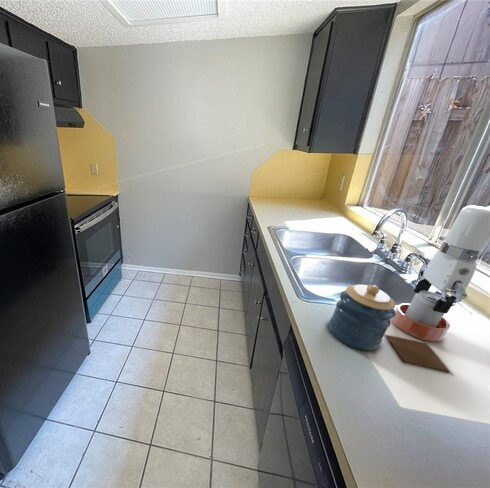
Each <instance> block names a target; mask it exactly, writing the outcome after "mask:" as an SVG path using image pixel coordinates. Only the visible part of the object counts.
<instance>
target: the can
mask: <svg viewBox="0 0 490 488" xmlns="http://www.w3.org/2000/svg"><path fill="white" fill-rule="evenodd" d="M438 299H441V294H439V293H436V292H433V291H429V290H428V291H420V293H415V294H414V295H413V298H412V299H411V301H410V303H409V304H410V305H409V307H408V309H407V311H406V313H405V314H404V315H406V316H407V317H408V318H410V319H412V320H414V321H416V322H418V323H420V324H423V325H426V326H429V327H433V328H436V326H437V325H438V323H439V322H440V320H441V318H442V317H443V318H444V315H445V314H446V313H441V312H435V311H433V307H434V306H435V304H436V302H437V301H438Z"/></svg>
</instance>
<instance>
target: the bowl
mask: <svg viewBox="0 0 490 488" xmlns="http://www.w3.org/2000/svg"><path fill="white" fill-rule="evenodd" d="M409 305H410V303H400V304H398V305H397V307H396V309H395V312H396V315H395V316H394V317H393V318H391V320H392V321H391V322H393V324H394V325H395V326H396V327H397V328H399V330H401V331H403V332H404V333H406V334H408V335H410V336H412V337H415V338H417V339H419V340H423V341H428V342H440V341H442V340H443V338H444V337H445V335H446V334H447V332H448V331H449V329H450V327H451V325H450V323H449V321H448V320H447V319H446V318H445V317H444V316H443V317H442V318H441V320H440V322H439V323H438V325H437V326H436V328H433V327H429V326H426V325H423V324H420V323H418V322H416V321H414V320H412V319H410V318H408V317H407V316H406V315H404V314H405V313H406V311H407V309H408V307H409Z"/></svg>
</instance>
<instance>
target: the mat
mask: <svg viewBox="0 0 490 488" xmlns="http://www.w3.org/2000/svg"><path fill="white" fill-rule="evenodd" d="M386 338H387V340H388V341H389V343H390V344H391V346H392V347H393V348H394V350H395V351H396V353H397V355H398V356H399V357H400V359H401V360H402V362H403V363H407V364H411V365H415V366H420V367H425V368H428V369H433V370H437V371H441V372H445V373H450V370H449V369H448V367H446V365H445V363H444V362H442V360H441V359H440V358H439V357H438V356H437V354H436V353H435V352H434V351H433V349H432V348H431V347H430V346H429V345H428V344H427V342H421V341H416V340H412V339H407V338H402V337H397V336H393V335H388V334H386Z"/></svg>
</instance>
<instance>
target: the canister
mask: <svg viewBox="0 0 490 488" xmlns="http://www.w3.org/2000/svg"><path fill="white" fill-rule="evenodd" d="M339 298H340V299H339V300H337V302H336V305H335V309H334V311H333V313H332V315H331V317H330V318H329V321H328V322H329V323H328V324H329V325H328V327H329V331H330V332H331V334H332V335H333V336H334V337H335V338H336V339H337V340H339V341H340V342H342V343H343V344H345V345H347V346H349V347H351V348H355V349H358V350H361V351H374V350H376V349H377V348H378V347H379V346H380V345H381V343H382V342H383V338H384V336H385V334H386V332H387V330H388V328H389V327H390V326H391V323H392V321H391V320H392V318H393V317H394V316H395V315H396V312H395V311H396V309H395V307H396V303H395V301H394V300H393V299H392V298H391V297H390V295H389V294H387V292H385V291H383V290H381V289H379V287H378V286H377V285H375V284H369V285H367V284H351V285H348V286H347V287H345V290H343V291H341V292H340V293H339Z"/></svg>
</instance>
